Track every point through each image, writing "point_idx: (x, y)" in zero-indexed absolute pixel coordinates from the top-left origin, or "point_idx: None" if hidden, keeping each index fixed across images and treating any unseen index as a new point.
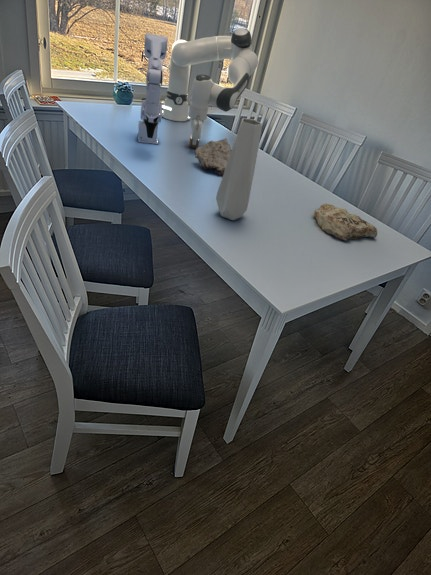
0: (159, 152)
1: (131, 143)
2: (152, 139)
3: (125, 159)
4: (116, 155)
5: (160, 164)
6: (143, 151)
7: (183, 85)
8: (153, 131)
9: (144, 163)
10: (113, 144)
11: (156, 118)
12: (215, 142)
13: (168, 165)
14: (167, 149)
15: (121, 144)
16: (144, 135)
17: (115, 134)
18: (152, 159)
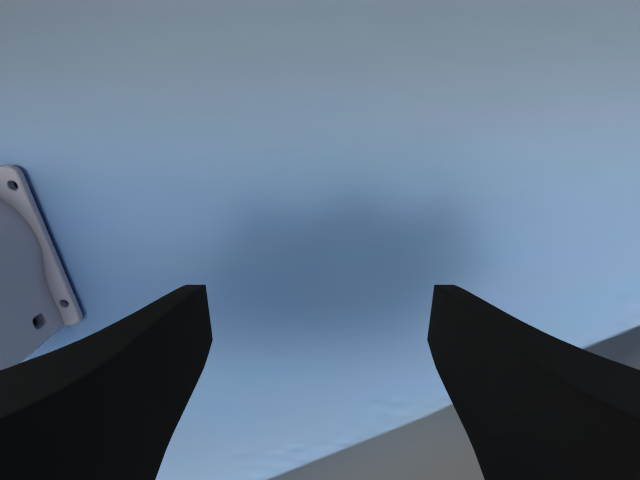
0: (221, 142)
1: None
2: (5, 228)
3: None
4: (414, 412)
5: (510, 121)
6: (265, 270)
7: None
8: (534, 338)
9: (514, 247)
10: (231, 444)
11: (30, 449)
12: None
13: (520, 42)
14: (94, 64)
15: (204, 408)
16: (8, 310)
17: None
18: (413, 194)
